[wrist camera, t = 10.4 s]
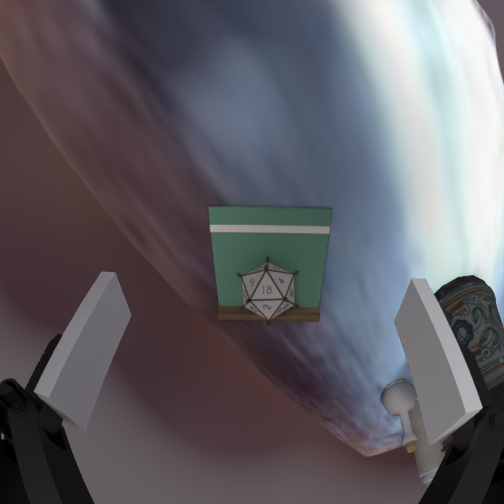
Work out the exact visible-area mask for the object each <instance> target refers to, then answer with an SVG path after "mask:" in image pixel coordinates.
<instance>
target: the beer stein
mask: <svg viewBox="0 0 504 504" xmlns="http://www.w3.org/2000/svg"><path fill="white" fill-rule="evenodd" d="M434 296H435V298H436V299H437V301H438V303H439V305H440V307H441V309H442V311H443V313H444V315H445V317H446V319H447V321H448V324H449V326H450V328H451V330H452V332H453V334H454V336H455V339H456V341H457V343H458V345H459V346H460V345H466V346H467V347H468V348H469V349H470V350H471V351H472V353H473V354H474V356H475V359H476V361H477V363H478V366H479V368H480V370H481V375H483V378H484V380H485V383H486V385H487V388H488V391H489V393H490V396H491V399H492V402H493V404H494V406H495V407H496V408H500V409H502V410H503V411H504V327H503V324H502V321H501V319H500V316H499V312H498V309H497V305H496V298H495V294H494V292H493V290H492V289H491V288H490V286H488V285H487V284H486V283H485V281H484V280H482V279H480V278H478V277H476V276H474V275H470V276H463V277H457V278H456V279H454V280H452V281H450V282H449V283H447V284H445V285H443V286H442V287H441V288H440V289H439V290H438V291H437V292H436V293H435V294H434Z"/></svg>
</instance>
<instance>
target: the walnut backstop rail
mask: <svg viewBox="0 0 504 504" xmlns="http://www.w3.org/2000/svg"><path fill="white" fill-rule="evenodd" d="M239 308H240V306H221V305H219V308H218V312H217V316H218V319H221V320H246V321H267V320H266V319H264V318H262V317H260V316H259V315H257V314H255V313H254V312H252V311H250V310H249V309H247V308H245V307H244V309H242V310H241V309H239ZM319 318H320V313H319V307H300V308H296V307H291V308H289V309H288V310H286V311H284V312H283V313H281V314H280V315H278V316H276V317H275V318H273V319H272V320H270V321H296V322H315V321H319Z"/></svg>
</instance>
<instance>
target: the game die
mask: <svg viewBox="0 0 504 504" xmlns="http://www.w3.org/2000/svg"><path fill="white" fill-rule="evenodd" d="M269 259H270V258H269V257H268V256H267V258H266V261H267V262H265V263H264V264H262V265H260V266H258V267H256V268H254V269H253V270H251V271H249V272H247V273H245V274H243V275H241V273H236V275H237V276H238V277H241V284H242V297H243V305H241V306H240V308H239V309H241V310H242V309H244V307H245V308H247V309H249V310H250V311H252V312H254V313H255V314H257V315H259V316H260V317H262V318H264V319H266V320H267V325H268V327H270V325H271V322H270V320H272V319H273V318H275V317H276V316H278V315H280V314H281V313H283V312H284V311H286V310H288V309H289V308H291V307H292V306H295V307H296V308H300V306H299V304H295V283H294V275H297V274H298V273H299V271H300V270H298V271H294V273H291V272H289V271H287V270H285V269H283V268H281V267H279V266H277V265H275V264H273V263H270V262H269Z"/></svg>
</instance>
